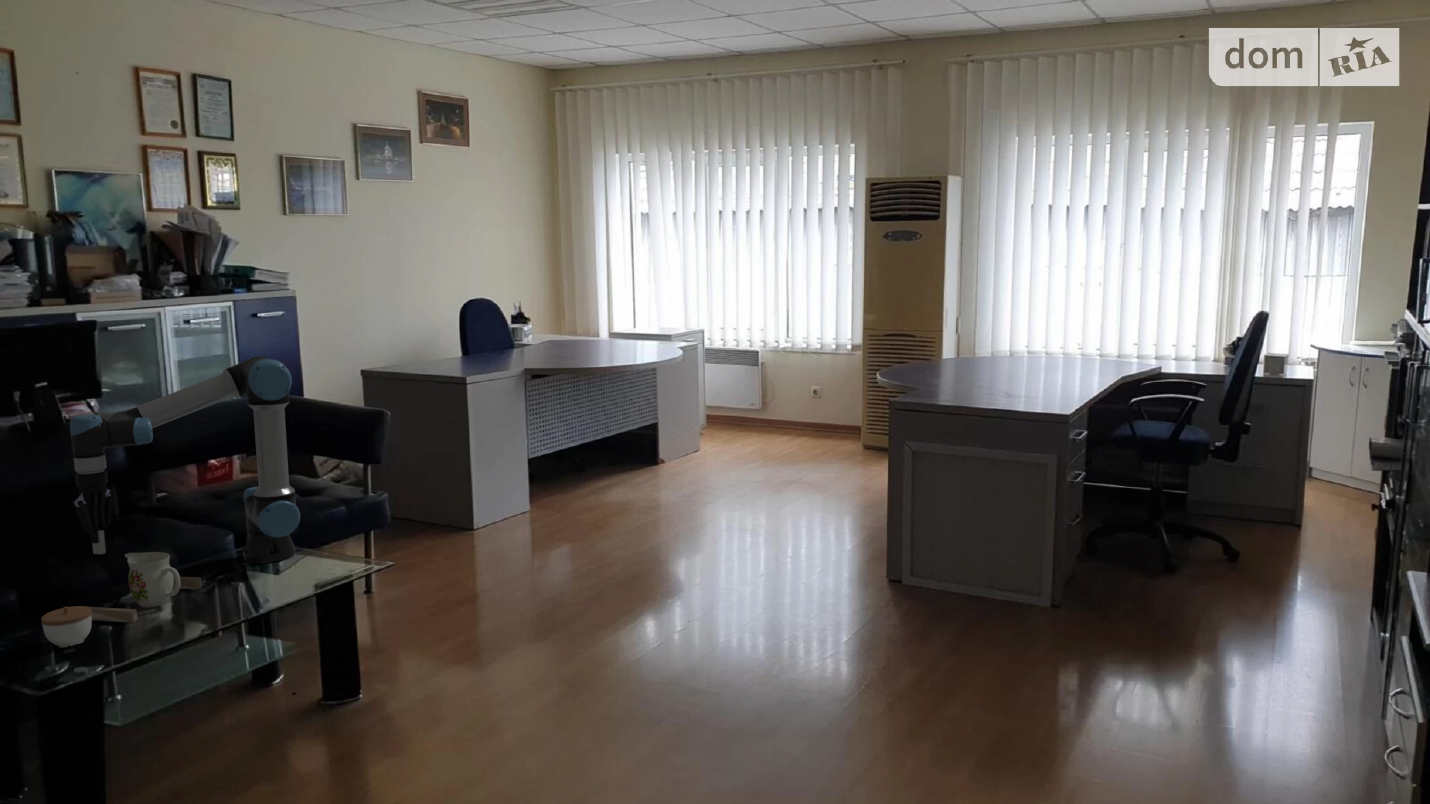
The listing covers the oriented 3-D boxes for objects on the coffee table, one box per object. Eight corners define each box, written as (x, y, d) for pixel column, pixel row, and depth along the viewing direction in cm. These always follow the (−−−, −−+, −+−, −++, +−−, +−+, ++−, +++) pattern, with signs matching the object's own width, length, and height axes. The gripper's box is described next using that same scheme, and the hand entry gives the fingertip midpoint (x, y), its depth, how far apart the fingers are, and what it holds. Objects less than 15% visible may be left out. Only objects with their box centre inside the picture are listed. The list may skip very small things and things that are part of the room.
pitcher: (165, 613, 275) (160, 565, 273) (114, 607, 281) (109, 559, 278) (197, 599, 285) (192, 552, 283) (147, 593, 291) (142, 547, 289)
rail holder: (157, 585, 298) (155, 575, 298) (202, 587, 296) (201, 577, 295) (84, 619, 272) (82, 608, 271) (133, 622, 269) (131, 611, 269)
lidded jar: (40, 654, 249) (36, 618, 248) (49, 638, 259) (44, 603, 258) (91, 646, 254) (86, 611, 252) (97, 631, 263) (93, 597, 262)
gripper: (97, 465, 287) (105, 545, 291) (60, 475, 274) (69, 559, 278) (120, 466, 285) (128, 547, 289) (84, 476, 273) (93, 561, 277)
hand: (99, 553), depth 284 cm, fingers closed
